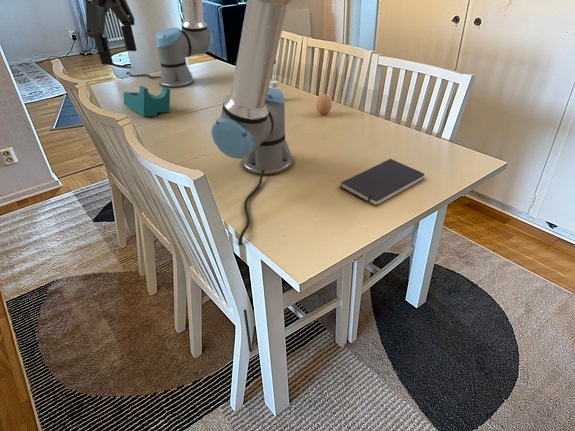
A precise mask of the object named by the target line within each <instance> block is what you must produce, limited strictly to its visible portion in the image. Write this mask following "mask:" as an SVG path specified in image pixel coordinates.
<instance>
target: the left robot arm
mask: <svg viewBox="0 0 575 431" xmlns="http://www.w3.org/2000/svg"><path fill="white" fill-rule="evenodd" d="M181 1H182V10H183V21H182V22H181V24H180V25H181V29H180V27H168V28H165V29H161V30H159V31H158V32H156V34H155V45H156V48H157V53H158V58H159V63H160V75H156V76H151V75H150V74H147V73H143V74H141V73H140V74H132V73H131V72H129V71H126V75H129V76H130V77H133V78H137V77H148V78H150V79H159V84H160V86H162V87H167V88H170V89H171V88H181V87H186V86H189V85H191V84H192V83H193V82H194V79H193V74H192V72H191V71H190V70H189V67H188V64H187V60H186V58H189V57H193V56H197V55H203V54H204V53H208V52H209V51H210V50H211V49H212V47H213V43H214V36H213V33H212V30H211V28H210V27H208V24H207V22H205V20H204V14H203V13H204V12H203V0H181ZM276 62H277V60H276V59H275V62H274V65H276Z"/></svg>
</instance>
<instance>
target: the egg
mask: <svg viewBox="0 0 575 431" xmlns="http://www.w3.org/2000/svg"><path fill="white" fill-rule="evenodd" d="M332 106H333V103H332V99H331V98H330V96H329V95H327V94H326V93H323V94H320V95H319V96H318V97H317V99H316V102H315V109H316V111H317V112H318V113H319V114H320V115H323V116H325V115H327V114H329V113H330V112H331V110H332Z"/></svg>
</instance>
